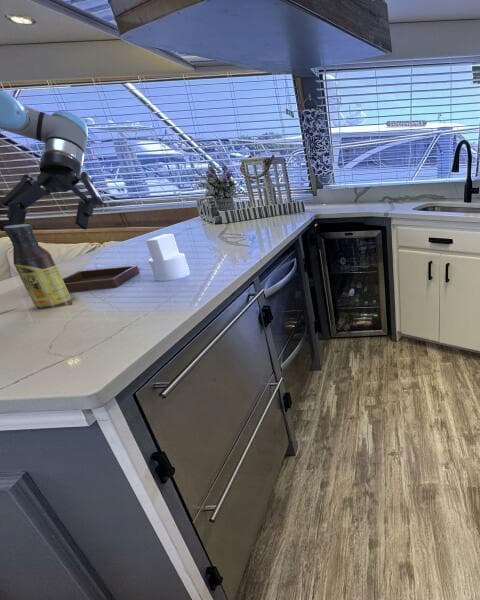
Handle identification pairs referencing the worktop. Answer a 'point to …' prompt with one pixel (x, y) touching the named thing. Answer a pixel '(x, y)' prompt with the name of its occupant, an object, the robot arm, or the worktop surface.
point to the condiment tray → (99, 278)
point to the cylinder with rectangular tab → (166, 258)
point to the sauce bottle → (37, 269)
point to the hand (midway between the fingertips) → (48, 228)
